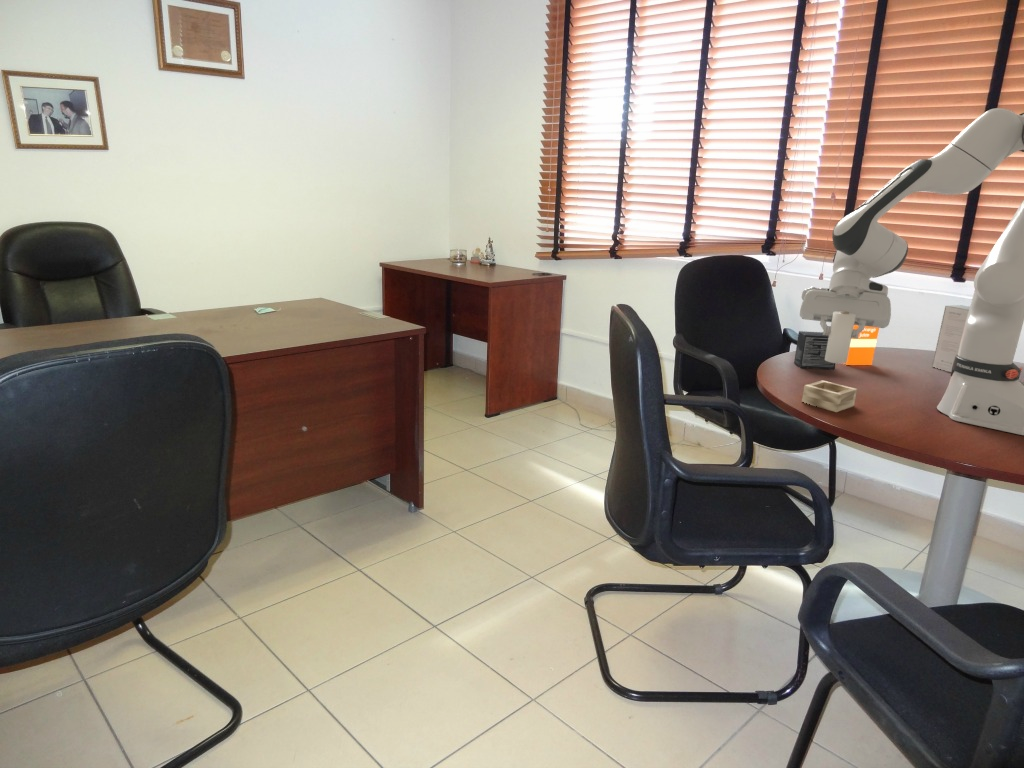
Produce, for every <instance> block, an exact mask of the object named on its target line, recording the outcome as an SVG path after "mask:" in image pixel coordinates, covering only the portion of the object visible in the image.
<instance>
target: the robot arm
mask: <svg viewBox="0 0 1024 768" xmlns="http://www.w3.org/2000/svg"><path fill="white" fill-rule="evenodd" d="M1016 152H1023V153H1024V112H1022V113H1019V114H1018V113H1015V112H1014V111H1012V110H1010V109H1007V108H1002V107H996V108H991V109H989V110H987V111H985V112H983V113H982V114H981V115H980V116H978V117H976V119H974V120H973V121H971V123H970V124H969V125H967V126H966V127H965V128H964V129H963V130H962V131H961V132H960V133H959V134H958V135H956V137H954V139H953V140H952V141H951V142H950V143H949V144H948V145H946V147H945V148H943V150H941V151H940V152H938V153H937V154H935V155H933V156H931V157H928V158H925V159H923V158H921V159H918V160H916V161H914V162H913V163H911V164H909V165H908V166H906V167H905V168H904V169H903V170H902V171H900V172H899V173H898V174H896V175H895V176H894V177H893V178H892V179H890V180H889V181H888V182H887V183H885V184H884V185H883V186H882V187H881V188H880V189H879V190H878V191H876V192H875V193H874V194H873V195H871V196H870V197H869V198H868V199H866V200H865V201H864V202H863V203H862V204H861V205H859V206H857V208H855V209H854V210H852V211H851V212H849V213H847V214H846V215H845V216H843V217H842V218H841V219H840V220H839V221H838V222H837V223H836V224H835V226H834V227H833V230H832V242H833V247H834V249H835V250H836V253H835V256H834V260H833V266H832V272H833V273H832V276H831V277H830V281H829V287H828V288H827V287H826V288H825V287H814V286H810V287H809V288H805V289H803V291H802V292H801V293H802V294H801V299H802V303H801V304H800V305H801V306H800V310H799V317H800V318H801V319H802V320H806V321H816V322H819V325H820V327H821V328H822V330H823V331H822V332H823V335H829V334H830V328H831V325H829V326H828V325H827V323H831V322H832V317H833V312H836V311H847V312H849V313H854V314H856V317H855V322H854V325H858V328H857V329H853V332H852V337H851V338H853V339H858V336H859V333H861V332H862V331H863V330H864V328H865V326H867V327H876V328H879V329H885V328H887V327H888V326H889V325H890V320H891V318H892V317H891V316H892V305H891V299H890V298H889V296H888V294H889V288H888V286H887V285H885V284H882V283H879V282H877V281H874V280H871V278H879V277H882V276H884V275H888V274H891V273H893V272H895V271H897V270H898V269H900V268H901V267H902V266H903V264H904V263H905V261H906V259H907V255H908V253H909V245H908V244H909V243H908V242H907V241H906V240H905V239H904V238H902V237H901V236H899V235H898V234H896V233H895V232H894V231H892V230H890V229H889V228H887V227H885V226H884V225H883V224H881V223H880V222H878V221H879V219H880V218H881V217H883V216H884V215H885V214H887V212H889V211H890V210H891V209H892V208H893V207H895V206H897V204H898V203H900V202H901V201H902V200H904V199H905V198H906V197H908V196H910V195H911V194H914V193H919V192H920V193H921V192H925V193H926V192H927V193H935V194H938V195H939V194H940V195H945V196H946V195H947V196H956V195H963V194H965V193H968V192H971V191H973V190H974V189H976V188H977V187H979V185H981V184H982V183H983V182H984V181H985V180H986V179H987V178H988V177H989V176H990V175H991V174H992V173H993V172H994V171H995V170H996V169H997V168H998V167H999V165H1000V164H1001V163H1002V162H1003V161H1004V160H1006V159H1008V157H1010V156H1011V155H1013V154H1015V153H1016ZM973 286H974V292H973V295H972V298H971V302H970V306H969V307H970V309H969V313H968V316H967V319H966V322H965V327H964V331H963V335H962V339H961V343H960V347H959V351H958V355H956V356H955V359H954V361H953V364H952V368H951V372H950V379H949V382H948V385H947V388H946V390H945V392H944V394H943V396H942V398H941V400H940V401H939V403H938V404H937V406H936V408H937V409H936V410H938V411H939V412H941V413H942V414H944V415H946V416H948V417H949V418H950V419H951V420H953V421H954V422H961V423H965V424H969V425H974V426H979V427H982V428H983V427H984V428H988V429H993V430H997V431H1001V432H1007V433H1011V434H1016V435H1019V436H1020V435H1021V436H1024V384H1022V383H1021V382H1020V381H1019V379H1020V376H1021V373H1022V372H1023V371H1022V370H1023V366H1022V367H1021V366H1020V367H1019V366H1018V365H1016V364H1015V363H1014V358H1015V355H1016V351H1017V347H1018V345H1019V344H1018V343H1019V340H1020V336H1021V332H1022V330H1023V329H1022V328H1023V325H1024V199H1023V200H1022V202H1021V203H1020V205H1019V207H1018V208H1017V209H1016V212H1015V213H1014V215H1013V216H1012V217H1011V219H1010V221H1009V222H1008V224H1007V226H1005V228H1004V230H1003V231H1002V233H1001V235H1000V236H999V237H998V239H997V241H995V244H994V246H993V247H992V248H991V250H990V251H989V253H988V255H987V256H986V258H985V259H984V261H983V262H982V264H981V265H980V267H979V269H978V270H977V271H976V274H975V276H974V280H973Z"/></svg>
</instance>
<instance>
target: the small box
mask: <svg viewBox="0 0 1024 768" xmlns="http://www.w3.org/2000/svg"><path fill="white" fill-rule="evenodd" d="M828 338H829V335H823V331H822V332H821V331H819V332H818V331H805V330H804V331H803V330H799V331H798V335H797V342H796V348H795V355H794V362H793V364H794V365H796V366H797V367H798V368H799V367H800V369H812V368H815V369H816V370H817V369H818V370H830V369H833V371H834V370H836V364H837V363H831V362H828V361H825V354H826V349H827V343H828Z"/></svg>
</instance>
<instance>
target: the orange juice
mask: <svg viewBox="0 0 1024 768" xmlns="http://www.w3.org/2000/svg"><path fill="white" fill-rule="evenodd" d="M857 328H858V325H854V327H853V329H857ZM879 330H880V328H876V327H867V326H865V328H864V330H863V331H862V332H861V333H859V336H858V339H853V338H851V343H850V348H849V353H848V358H847V363H844V364H846V365H873V360H874V355H875V349H876V346H877V343H878V342H877V341H878V336H879ZM844 364H843V365H844ZM846 365H845V366H846Z"/></svg>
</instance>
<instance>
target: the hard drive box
mask: <svg viewBox="0 0 1024 768" xmlns="http://www.w3.org/2000/svg"><path fill="white" fill-rule="evenodd" d="M969 309H970V306H969V305H968V306H967V305H961V304H960V305H959V304H958V305H956V304H953V305H945V306H944V310H943V315H942V319H941V325H940V328H939V334H938V338H937V342H936V347H935V352H934V356H933V359H932V360H933V361H932V364H931V365H932V366H931V367H932V368H933V367H935V368H934V369H937V368H938V370H940V369H941V370H940V371H943V370H945V371H944V372H947V373H951V368H952V364H953V361H954V359H955V356H956V355H958V351H959V347H960V343H961V339H962V335H963V331H964V327H965V322H966V319H967V316H968V313H969Z"/></svg>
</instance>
